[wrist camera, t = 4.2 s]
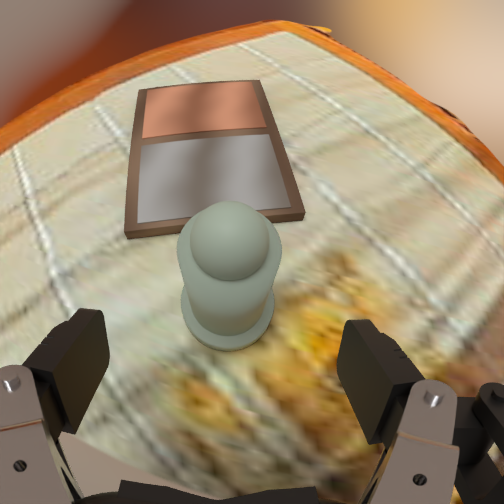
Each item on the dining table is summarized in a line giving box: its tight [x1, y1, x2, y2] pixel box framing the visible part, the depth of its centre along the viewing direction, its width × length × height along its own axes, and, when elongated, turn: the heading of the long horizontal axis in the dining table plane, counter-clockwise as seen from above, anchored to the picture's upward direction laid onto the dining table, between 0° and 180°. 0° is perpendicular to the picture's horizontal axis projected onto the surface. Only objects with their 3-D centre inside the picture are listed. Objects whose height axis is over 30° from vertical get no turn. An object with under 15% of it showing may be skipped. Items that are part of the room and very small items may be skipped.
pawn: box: [177, 201, 282, 351], centre depth 16 cm, size 6×6×10 cm
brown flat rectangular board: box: [124, 80, 306, 239], centre depth 27 cm, size 13×18×1 cm
